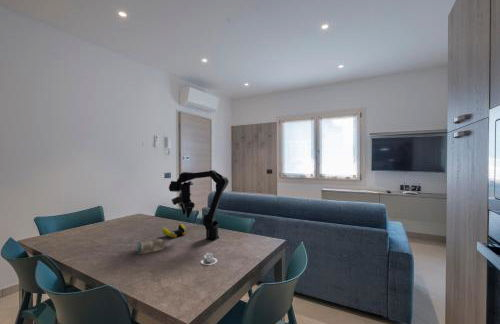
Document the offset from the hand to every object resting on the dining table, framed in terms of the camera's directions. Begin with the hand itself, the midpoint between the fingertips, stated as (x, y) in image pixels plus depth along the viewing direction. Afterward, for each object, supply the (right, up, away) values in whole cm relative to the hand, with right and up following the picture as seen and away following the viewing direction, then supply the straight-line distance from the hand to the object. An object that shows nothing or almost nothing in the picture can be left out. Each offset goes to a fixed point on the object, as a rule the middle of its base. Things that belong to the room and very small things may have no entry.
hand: (185, 216), depth 147 cm
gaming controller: (-7, -13, +3) cm, 16 cm away
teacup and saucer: (+23, -14, -34) cm, 43 cm away
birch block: (-8, -11, -19) cm, 23 cm away
